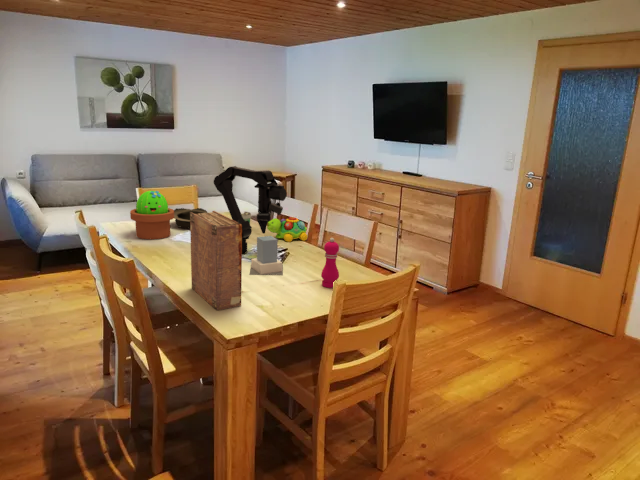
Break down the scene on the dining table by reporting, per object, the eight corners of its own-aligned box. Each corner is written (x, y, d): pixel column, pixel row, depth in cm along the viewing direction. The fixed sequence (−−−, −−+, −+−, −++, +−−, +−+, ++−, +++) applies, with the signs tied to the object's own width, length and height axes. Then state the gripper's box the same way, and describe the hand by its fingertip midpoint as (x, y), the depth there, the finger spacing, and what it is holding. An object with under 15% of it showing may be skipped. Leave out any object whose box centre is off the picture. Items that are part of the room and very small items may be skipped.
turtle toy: (262, 236, 270) (262, 215, 267) (300, 233, 280) (301, 213, 277) (272, 243, 255) (272, 222, 252) (312, 241, 265) (313, 220, 262)
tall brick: (256, 259, 210) (257, 237, 207) (270, 257, 213) (271, 235, 211) (262, 263, 205) (263, 240, 202) (277, 261, 208) (277, 239, 205)
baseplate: (249, 277, 202) (249, 274, 202) (251, 266, 217) (251, 263, 217) (282, 277, 204) (282, 275, 203) (282, 266, 218) (282, 264, 218)
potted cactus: (131, 231, 265) (128, 186, 259) (172, 230, 274) (171, 186, 267) (132, 242, 246) (129, 193, 240) (176, 239, 254) (175, 192, 248)
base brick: (251, 267, 212) (251, 258, 211) (272, 264, 217) (272, 256, 216) (260, 274, 203) (260, 265, 202) (282, 271, 208) (282, 262, 207)
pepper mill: (320, 282, 200) (322, 235, 195) (337, 282, 201) (340, 235, 196) (321, 288, 193) (323, 240, 188) (339, 288, 194) (342, 240, 189)
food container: (247, 233, 274) (247, 216, 271) (236, 232, 275) (237, 215, 272) (254, 228, 286) (254, 212, 283) (244, 227, 287) (244, 211, 284)
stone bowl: (179, 219, 299) (180, 205, 296) (218, 225, 296) (219, 211, 294) (161, 228, 275) (162, 212, 272) (203, 234, 272) (204, 218, 270)
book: (191, 288, 187) (189, 212, 180) (214, 284, 192) (213, 210, 185) (217, 311, 167) (216, 226, 159) (241, 306, 172) (242, 224, 164)
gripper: (282, 202, 215) (281, 236, 219) (282, 195, 233) (281, 226, 237) (256, 201, 214) (256, 235, 218) (258, 194, 232) (258, 226, 236)
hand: (264, 231), depth 227 cm, fingers open, 9 cm apart
